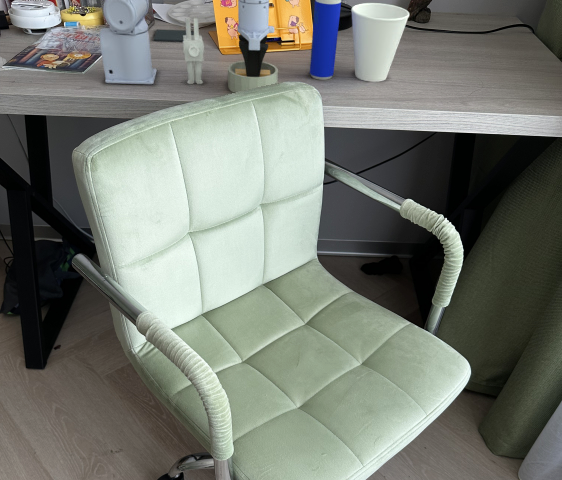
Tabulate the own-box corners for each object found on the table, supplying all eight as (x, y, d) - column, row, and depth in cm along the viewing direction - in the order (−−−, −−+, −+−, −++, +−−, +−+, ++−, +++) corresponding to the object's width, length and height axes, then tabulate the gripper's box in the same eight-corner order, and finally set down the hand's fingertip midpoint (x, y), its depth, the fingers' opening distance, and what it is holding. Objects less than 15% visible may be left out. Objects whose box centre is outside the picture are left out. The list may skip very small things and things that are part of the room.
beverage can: (318, 70, 126) (325, -10, 115) (337, 76, 124) (346, -5, 113) (304, 76, 123) (310, -6, 112) (323, 82, 121) (331, -1, 110)
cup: (332, 73, 125) (339, 7, 116) (368, 63, 131) (377, -1, 122) (373, 90, 119) (383, 22, 110) (409, 78, 125) (421, 13, 116)
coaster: (153, 40, 135) (153, 39, 134) (156, 31, 140) (156, 29, 140) (192, 42, 135) (192, 40, 135) (193, 32, 141) (193, 30, 140)
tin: (228, 95, 113) (227, 77, 111) (228, 77, 120) (227, 59, 118) (278, 97, 114) (279, 78, 112) (275, 79, 121) (276, 61, 119)
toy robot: (186, 91, 114) (182, 22, 105) (184, 77, 119) (180, 11, 111) (206, 91, 115) (203, 23, 106) (203, 77, 120) (200, 11, 111)
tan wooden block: (235, 87, 116) (235, 73, 114) (235, 82, 118) (235, 68, 116) (270, 87, 116) (270, 74, 114) (269, 83, 118) (269, 69, 116)
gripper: (277, 11, 102) (274, 92, 111) (273, -9, 112) (270, 66, 121) (237, 10, 101) (238, 91, 111) (236, -11, 111) (237, 65, 121)
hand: (252, 78), depth 116 cm, fingers closed on tan wooden block, 2 cm apart
